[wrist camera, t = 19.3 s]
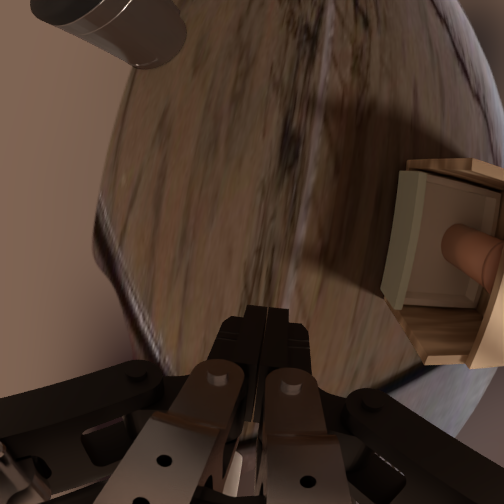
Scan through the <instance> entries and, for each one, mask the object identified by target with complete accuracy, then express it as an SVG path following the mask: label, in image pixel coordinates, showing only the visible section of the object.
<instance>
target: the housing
mask: <svg viewBox="0 0 504 504" xmlns="http://www.w3.org/2000/svg"><path fill="white" fill-rule="evenodd" d="M406 171H419V172H424V173H427V174H428V175H433V176H437V177H441V178H446V179H450V180H454V181H458V182H462V183H465V184H469V185H473V186H477V187H480V188H484V189H487V190H491V191H494V192H497V193H501V200H500V207H499V214H498V220H497V226H496V232H495V238H498V239H500V240H502V241H504V169H503V168H500V167H498V166H495V165H492V164H489V163H486V162H483V161H480V160H477V159H474V158H445V159H416V160H407V163H406ZM384 300H385V302H386V303H387V305H388V307H389V308H390V310H391V311H392V313H393V314H394V316H395V317H396V319H397V321H398V322H399V324H400V325H401V327H402V329H403V330H404V332H405V333H406V335H407V337H408V338H409V340H410V342H411V343H412V345H413V347H414V348H415V350H416V352H417V353H418V355H419V357H420V358H421V360H422V362H423V364H424V365H442V364H464V363H465V364H466V365H467V367H468V368H469V369H477V368H488V367H497V366H504V245H503V250H502V254H501V259H500V263H499V267H498V271H497V275H496V278H495V282H494V286H493V289H492V292H491V295H490V294H489V293H488V292H487V291H486V290H485V289H484V287H482V291H481V294H480V297H479V301H478V304H477V307H476V308H457V307H439V306H423V305H408V304H403V307H402V310H395V309H393V307H392V306H391V304H390V303H389V302H388V300H387V299H386V297H385V296H384Z"/></svg>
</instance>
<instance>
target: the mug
mask: <svg viewBox="0 0 504 504" xmlns="http://www.w3.org/2000/svg"><path fill="white" fill-rule="evenodd" d="M241 465H242V456H241V455H240V454H239V453H238V452H236V451H235V455H234V458H233V461H232V464H231V467H230V470H229V473H228V476H227V479H226V482H225V485H224V489H223V494H225V495H228V496H232V497H236V496H237V490H238V484H239V478H240V472H241Z"/></svg>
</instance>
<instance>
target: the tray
mask: <svg viewBox="0 0 504 504" xmlns="http://www.w3.org/2000/svg"><path fill="white" fill-rule="evenodd" d="M500 200H501V193H497V192H494V191H491V190H487V189H484V188H480V187H477V186H473V185H469V184H465V183H462V182H458V181H454V180H450V179H446V178H441V177H437V176H433V175H428V174H427V173H424V172H419V171H399V180H398V189H397V197H396V205H395V212H394V219H393V225H392V231H391V237H390V243H389V248H388V254H387V259H386V264H385V269H384V274H383V279H382V283H381V288H380V290H381V291H382V293H383V294H384V296H385V297H386V299H387V300H388V302H389V303H390V304H391V306H392V307H393V309H395V310H402V307H403V304H408V305H423V306H439V307H457V308H476V307H477V304H478V301H479V297H480V294H481V291H482V287H483V286H481V285H480V284H479V283H477V282H476V281H475V280H473V279H472V278H470V277H469V276H468V275H466V274H465V273H463V272H462V271H461V270H459V269H458V268H456V267H455V266H453V265H452V264H450V263H449V262H447V261H446V260H445V258H444V257H443V255H442V252H441V241H442V238H443V235H444V233H445V232H446V230H447V229H448V228H449V227H450V226H452V225H454V224H458V223H460V224H464V225H466V226H469V227H471V228H474V229H476V230H479V231H481V232H484V233H486V234H488V235H491V236H493V237H495V232H496V226H497V220H498V214H499V207H500Z"/></svg>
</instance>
